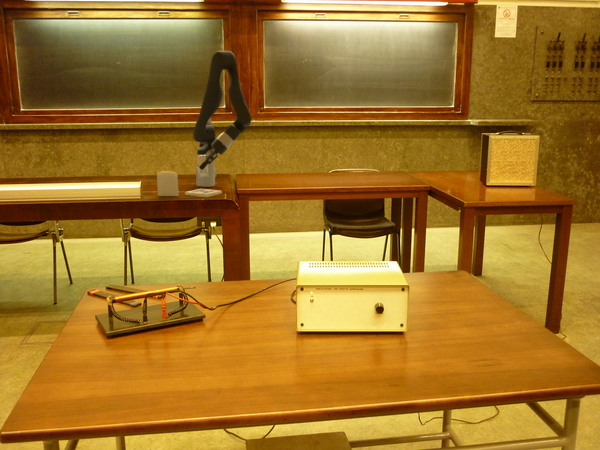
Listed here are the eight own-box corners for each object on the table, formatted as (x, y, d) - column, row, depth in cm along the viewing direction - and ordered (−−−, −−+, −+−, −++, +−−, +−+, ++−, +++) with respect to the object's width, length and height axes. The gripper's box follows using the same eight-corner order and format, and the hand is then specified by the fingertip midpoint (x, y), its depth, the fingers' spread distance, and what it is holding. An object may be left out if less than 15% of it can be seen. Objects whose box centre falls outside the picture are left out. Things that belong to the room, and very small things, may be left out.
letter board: (185, 195, 292) (185, 191, 291) (201, 191, 303) (201, 188, 303) (205, 197, 286) (205, 194, 285) (221, 193, 297) (221, 190, 296)
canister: (196, 177, 291) (195, 155, 289) (202, 176, 296) (201, 154, 293) (204, 178, 289) (203, 156, 287) (210, 177, 293) (209, 155, 291)
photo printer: (156, 196, 287) (155, 171, 284) (159, 194, 291) (158, 170, 288) (177, 196, 286) (176, 171, 284) (179, 195, 291) (178, 170, 288)
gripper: (213, 137, 297) (191, 161, 296) (220, 138, 284) (196, 164, 283) (224, 147, 300) (201, 171, 299) (231, 149, 287) (207, 174, 286)
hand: (199, 167), depth 291 cm, fingers closed on canister, 5 cm apart
